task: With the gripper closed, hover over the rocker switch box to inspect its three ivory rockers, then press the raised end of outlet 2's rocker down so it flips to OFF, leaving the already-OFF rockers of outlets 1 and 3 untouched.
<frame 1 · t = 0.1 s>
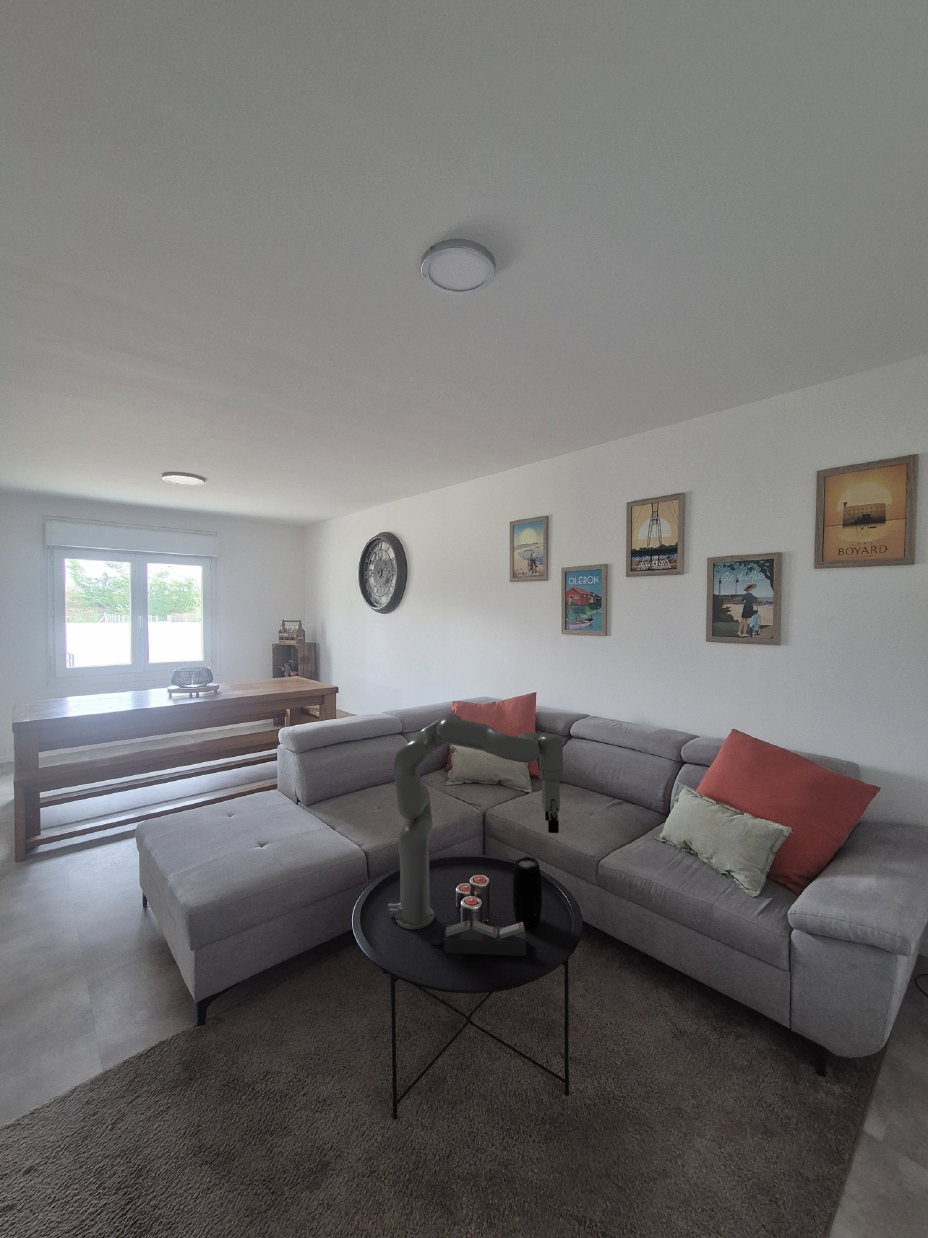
hand: (551, 826, 162), 31 cm above the table, fingers open, 9 cm apart
rocker 1: (458, 928, 149), point 6 cm above the table, hinge at -20.0°
rocker 2: (484, 929, 148), point 6 cm above the table, hinge at 20.0°
rocker 3: (511, 930, 148), point 6 cm above the table, hinge at -20.0°
portable speaker: (527, 923, 162), on the table
rocker switch box: (485, 946, 150), on the table
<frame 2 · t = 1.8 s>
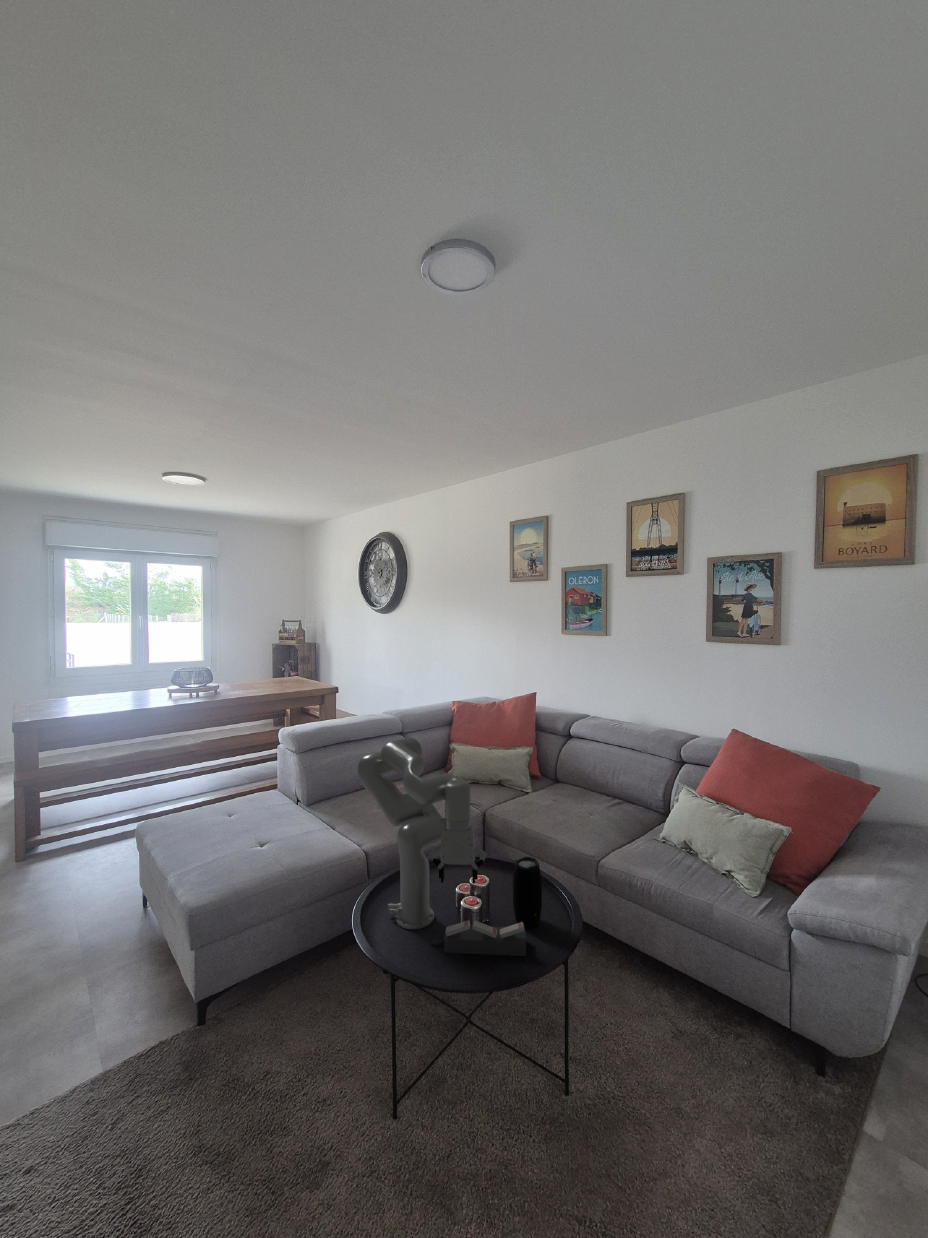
hand: (458, 880, 149), 20 cm above the table, fingers open, 9 cm apart
nothing on the table moved.
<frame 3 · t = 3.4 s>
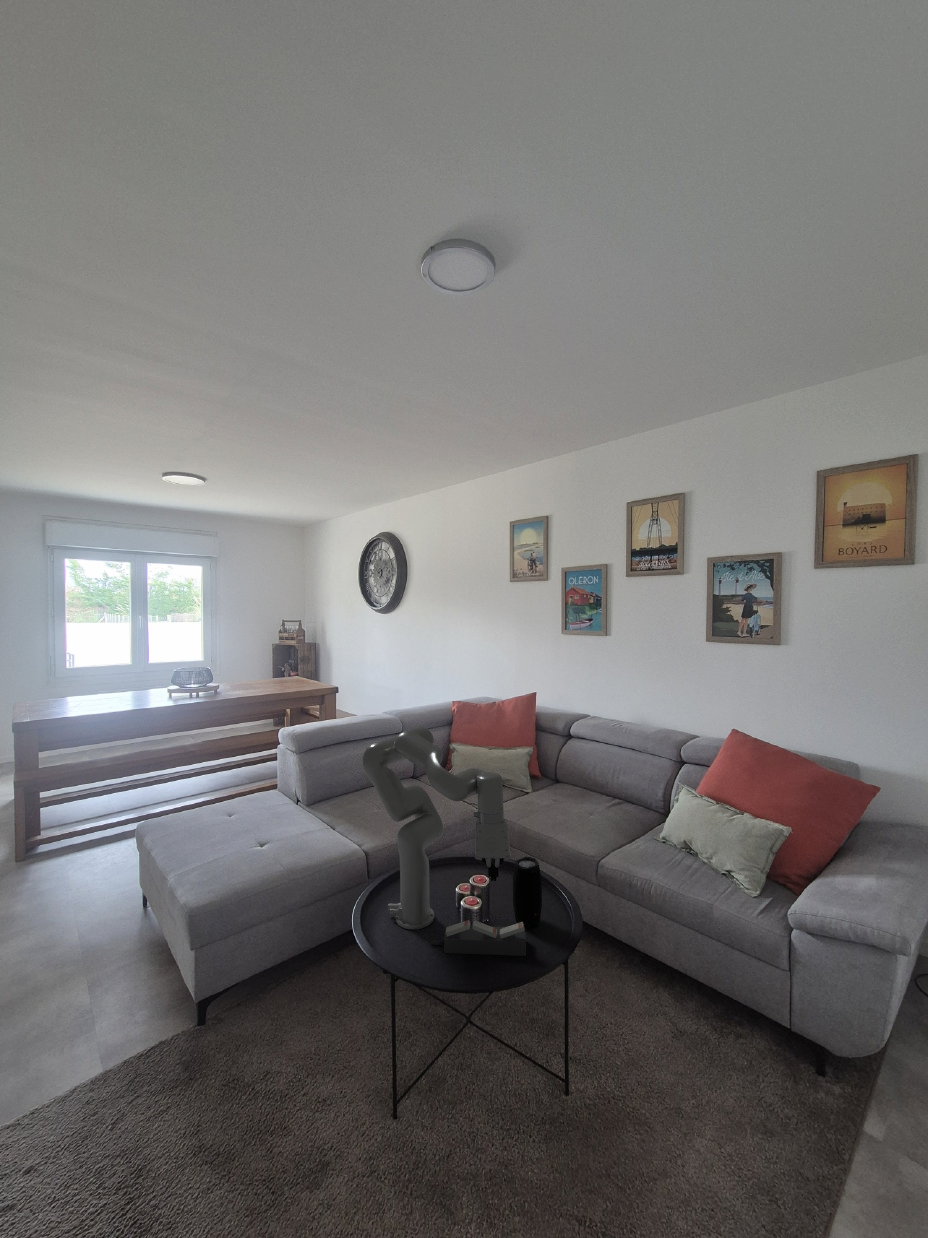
hand: (493, 878, 148), 21 cm above the table, fingers closed
nothing on the table moved.
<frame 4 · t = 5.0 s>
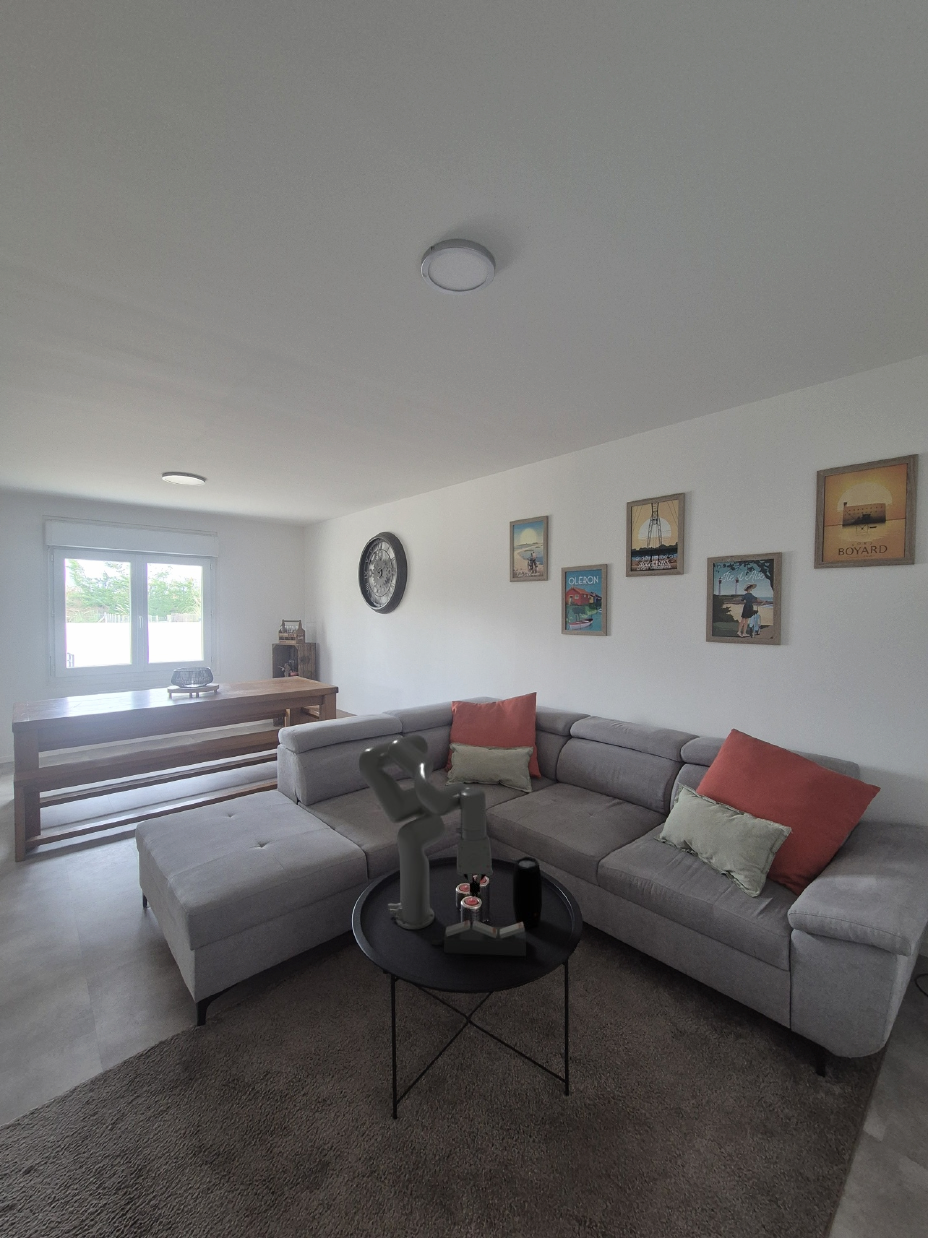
hand: (475, 894, 148), 17 cm above the table, fingers closed
nothing on the table moved.
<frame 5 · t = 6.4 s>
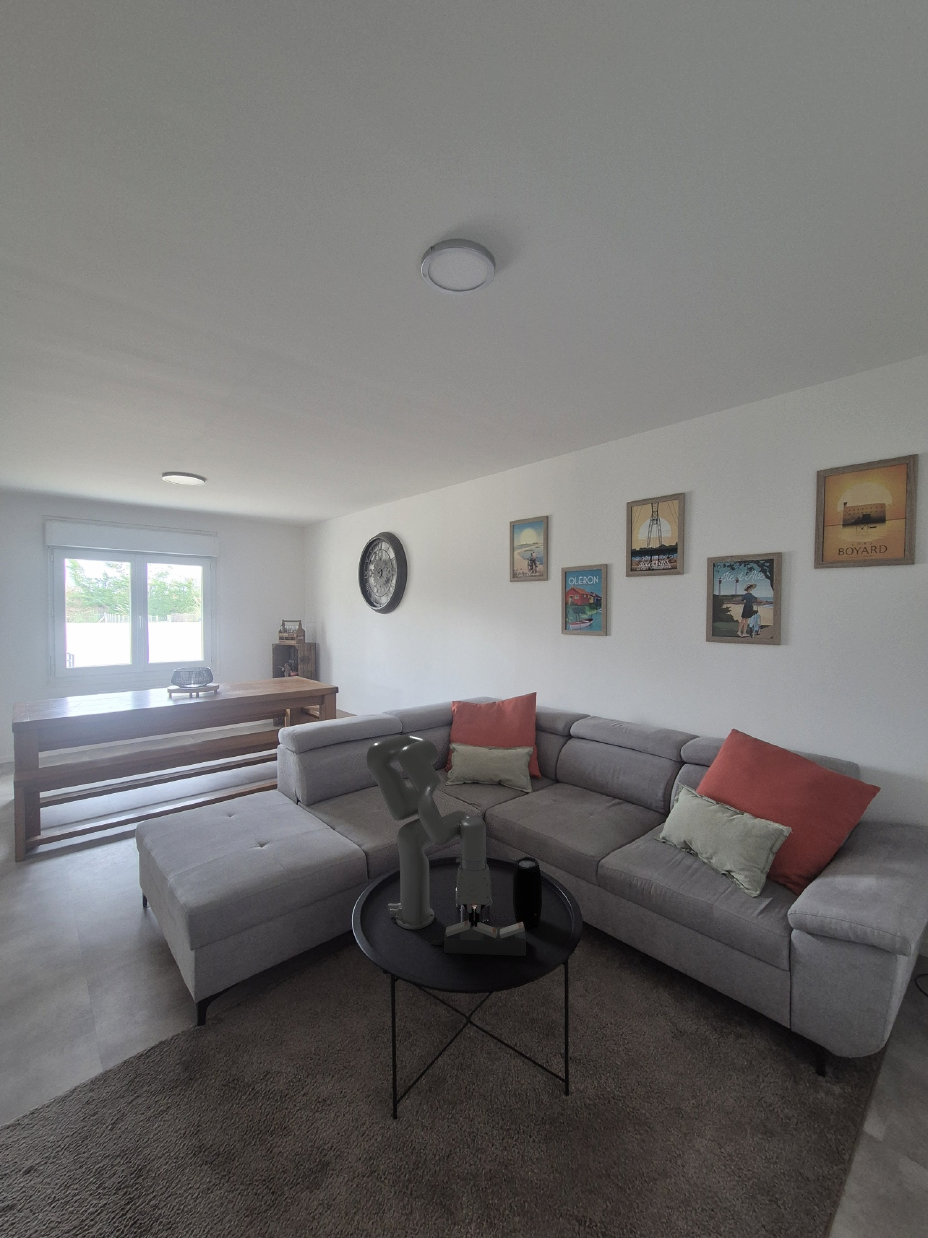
hand: (474, 924, 148), 8 cm above the table, fingers closed
rocker 2: (484, 929, 148), point 6 cm above the table, hinge at 19.5°, touching gripper
everything else where it was.
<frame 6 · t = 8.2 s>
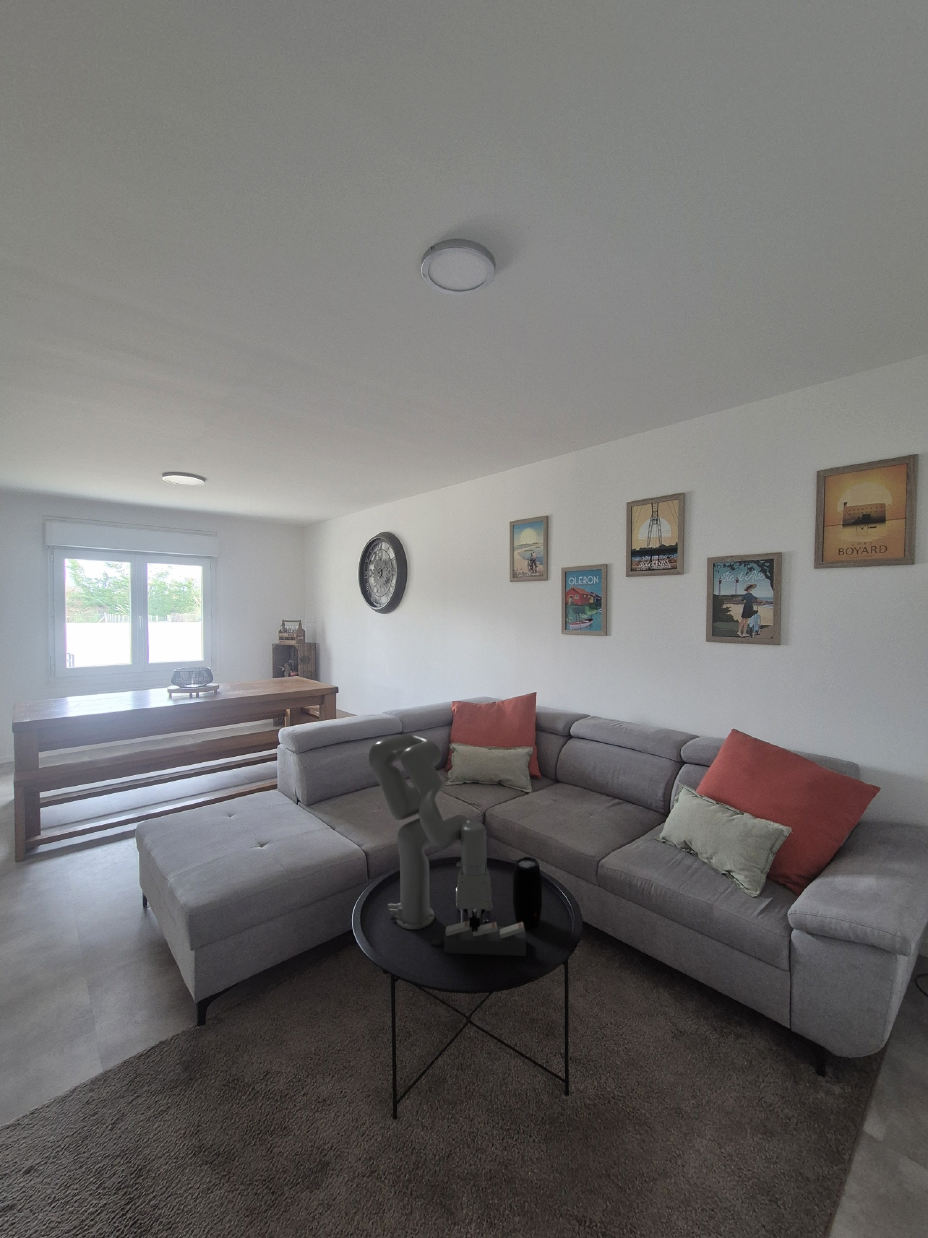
hand: (474, 928, 148), 6 cm above the table, fingers closed
rocker 1: (458, 928, 149), point 6 cm above the table, hinge at -16.8°, touching gripper
rocker 2: (484, 929, 148), point 6 cm above the table, hinge at -14.2°
everything else where it was.
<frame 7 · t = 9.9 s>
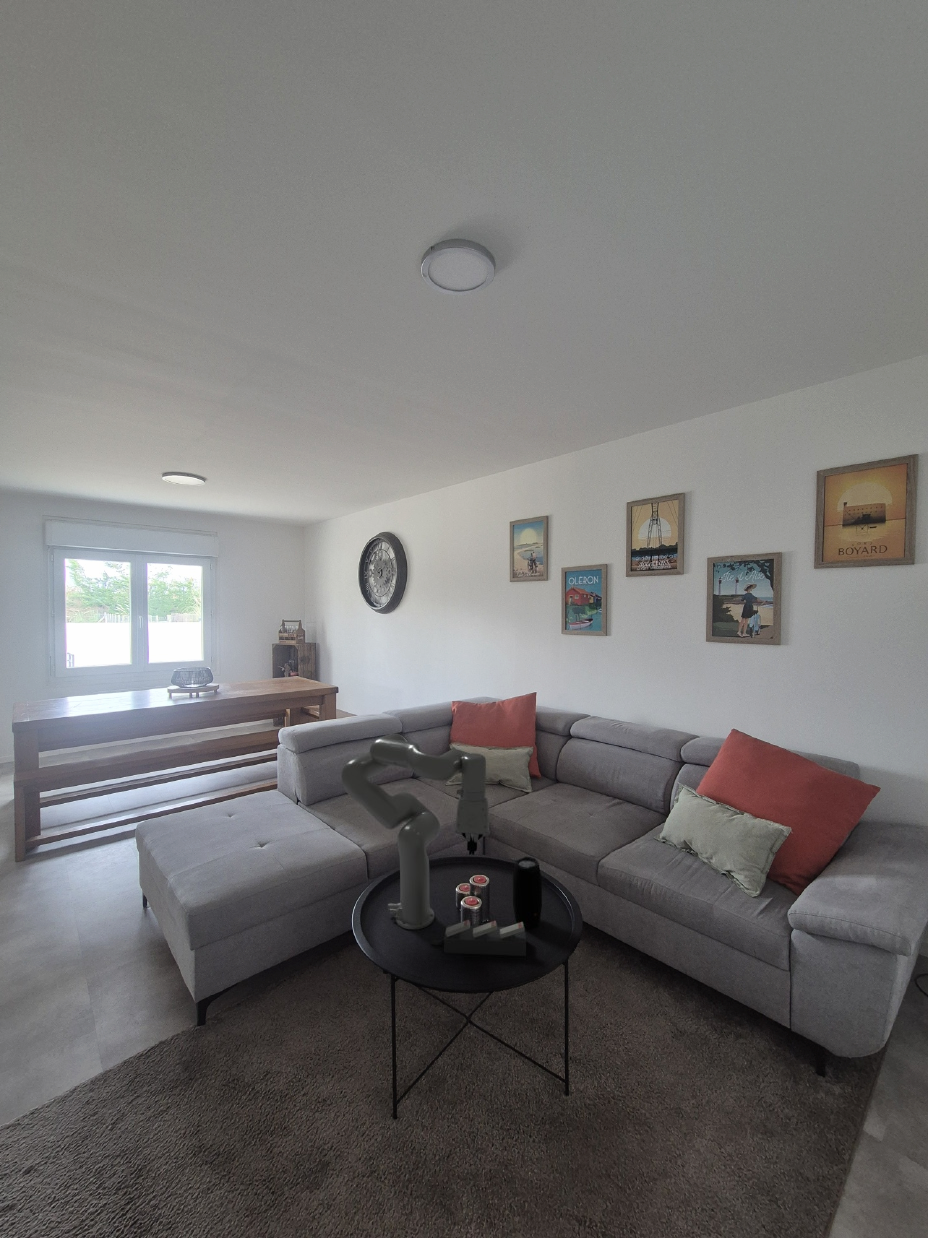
hand: (472, 852, 157), 25 cm above the table, fingers closed
rocker 1: (458, 928, 149), point 6 cm above the table, hinge at -22.3°
rocker 2: (484, 929, 148), point 6 cm above the table, hinge at -21.2°
everything else where it was.
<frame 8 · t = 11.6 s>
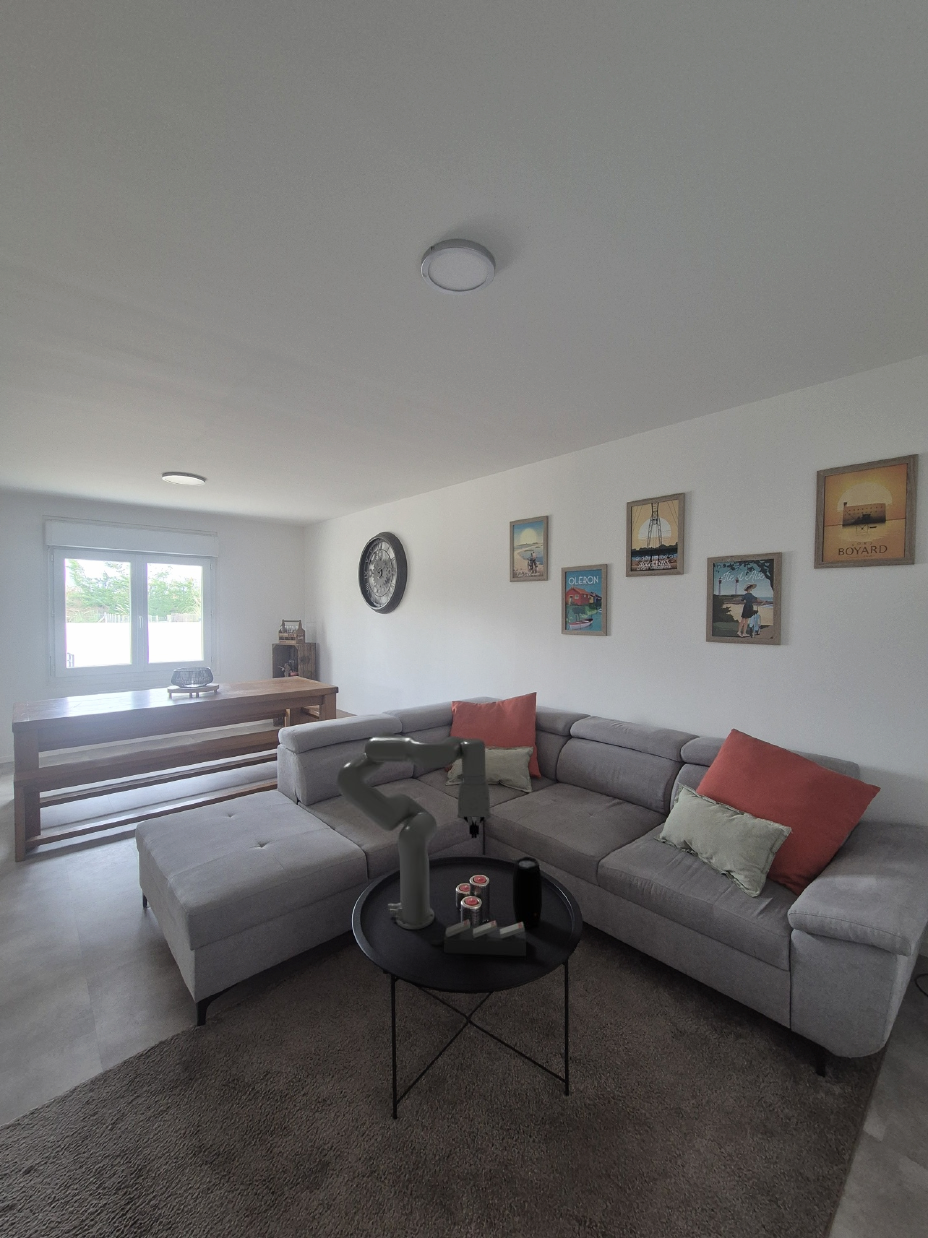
hand: (474, 836, 159), 29 cm above the table, fingers closed
rocker 1: (458, 928, 149), point 6 cm above the table, hinge at -24.0°
rocker 2: (484, 929, 148), point 6 cm above the table, hinge at -22.7°
everything else where it was.
at the end: rocker 2 at -23° (first picture: +20°); rocker 1 at -24° (first picture: -20°); rocker 3 at -20° (first picture: -20°) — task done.
